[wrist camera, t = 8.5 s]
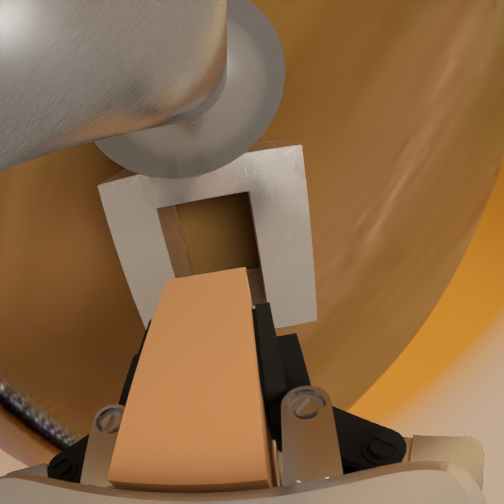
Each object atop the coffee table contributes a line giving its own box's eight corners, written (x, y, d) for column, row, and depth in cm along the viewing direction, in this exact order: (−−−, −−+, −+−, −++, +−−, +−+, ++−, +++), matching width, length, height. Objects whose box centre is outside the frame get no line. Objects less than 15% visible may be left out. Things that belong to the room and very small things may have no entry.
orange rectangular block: (198, 374, 14) (187, 541, 6) (165, 279, 12) (107, 480, 4) (263, 365, 14) (286, 536, 6) (245, 267, 12) (267, 479, 4)
